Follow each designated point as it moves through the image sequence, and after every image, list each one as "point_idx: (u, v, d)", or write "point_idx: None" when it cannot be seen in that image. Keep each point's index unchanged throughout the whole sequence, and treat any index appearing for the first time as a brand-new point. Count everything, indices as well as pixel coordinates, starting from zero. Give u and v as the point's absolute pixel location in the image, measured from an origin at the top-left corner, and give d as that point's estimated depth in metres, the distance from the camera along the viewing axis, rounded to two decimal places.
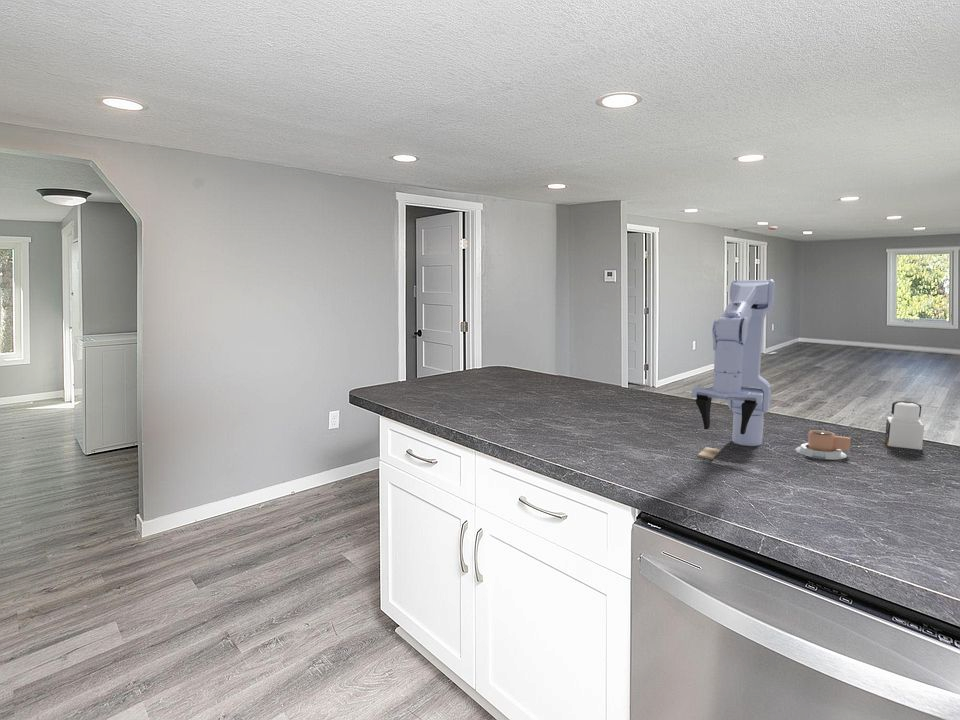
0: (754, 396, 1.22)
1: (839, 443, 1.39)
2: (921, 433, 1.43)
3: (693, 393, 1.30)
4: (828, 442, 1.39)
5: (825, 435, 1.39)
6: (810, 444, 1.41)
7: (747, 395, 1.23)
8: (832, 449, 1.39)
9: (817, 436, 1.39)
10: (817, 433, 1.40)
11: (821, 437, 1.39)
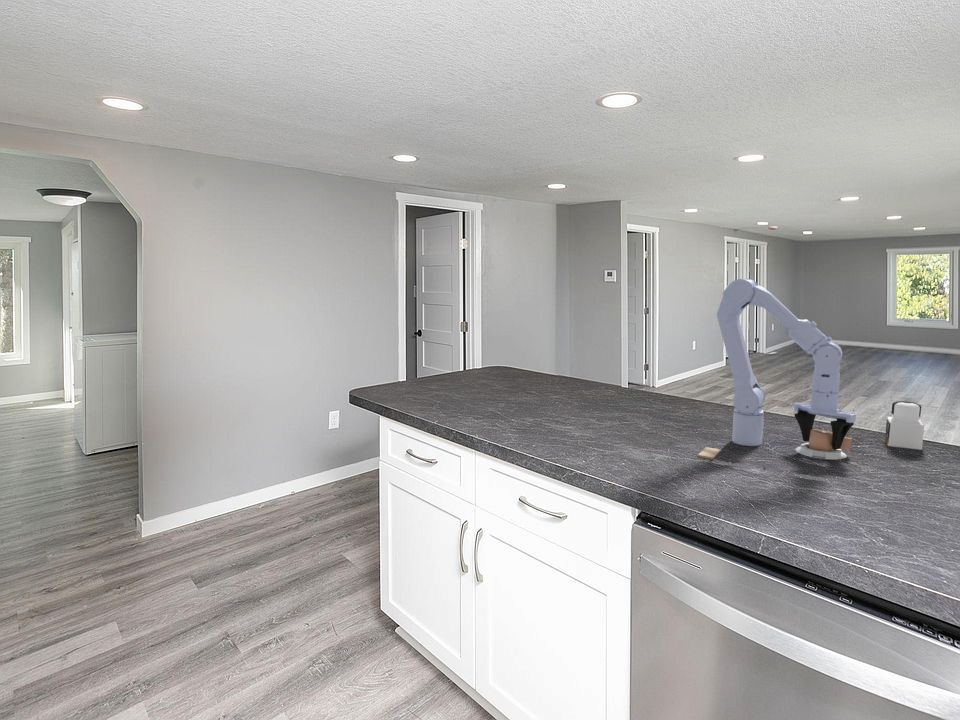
0: (844, 415, 1.34)
1: None
2: (921, 433, 1.43)
3: (795, 408, 1.46)
4: (829, 441, 1.39)
5: (827, 434, 1.39)
6: (811, 442, 1.41)
7: (837, 414, 1.35)
8: None
9: (819, 434, 1.39)
10: (819, 432, 1.40)
11: (823, 435, 1.39)
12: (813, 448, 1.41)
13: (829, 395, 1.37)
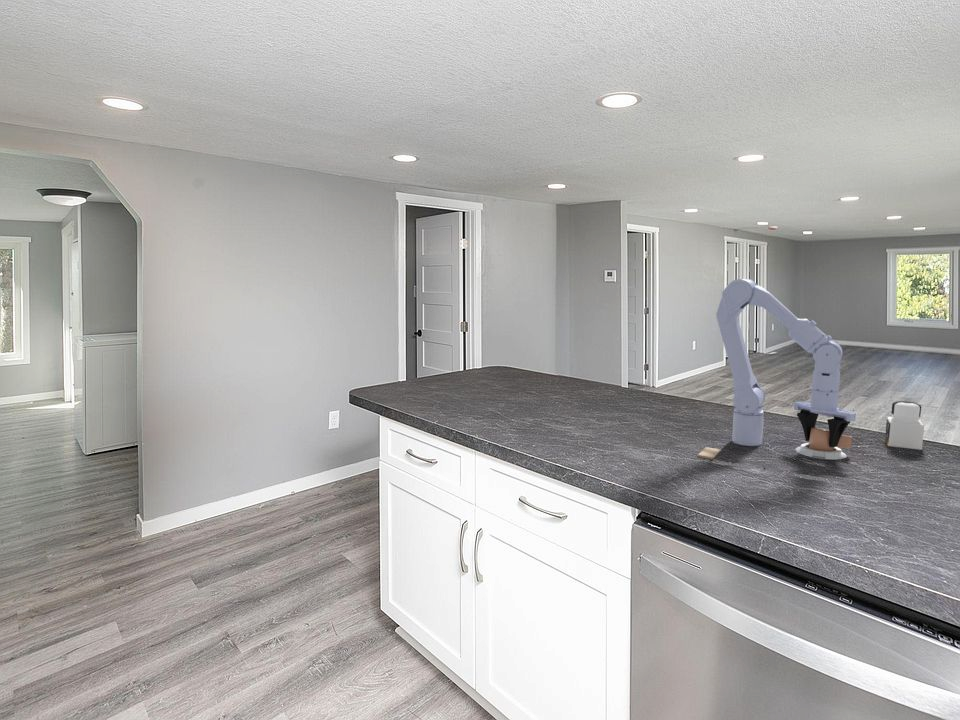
0: (844, 414, 1.34)
1: (840, 441, 1.39)
2: (921, 433, 1.43)
3: (795, 407, 1.46)
4: None
5: (827, 431, 1.39)
6: (811, 440, 1.41)
7: (837, 413, 1.35)
8: None
9: (820, 432, 1.39)
10: (819, 429, 1.41)
11: (823, 433, 1.39)
12: (814, 446, 1.40)
13: (829, 394, 1.37)
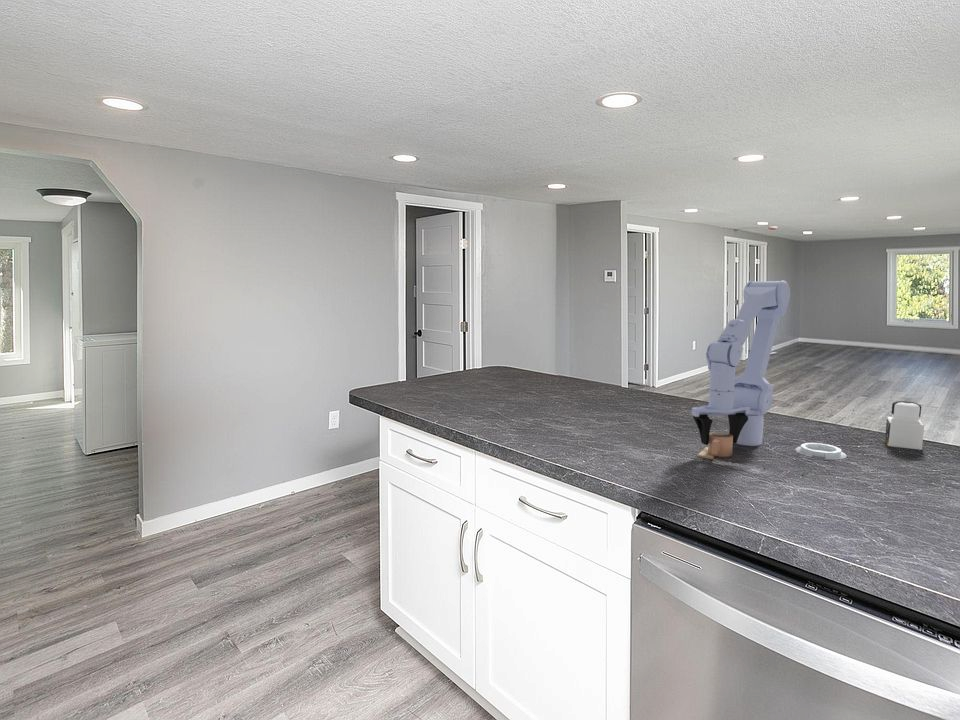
0: None
1: None
2: (921, 433, 1.43)
3: None
4: (709, 441, 1.41)
5: (711, 434, 1.42)
6: None
7: None
8: None
9: None
10: (716, 433, 1.43)
11: None
12: None
13: None
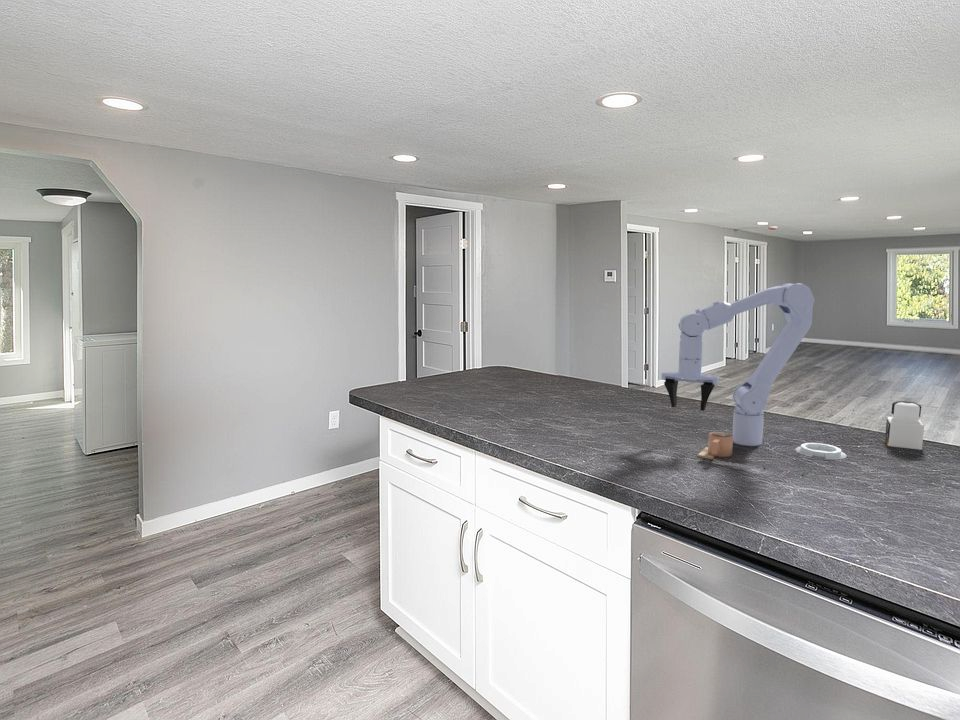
0: None
1: None
2: (921, 433, 1.43)
3: None
4: (709, 441, 1.41)
5: (711, 434, 1.42)
6: None
7: None
8: None
9: None
10: (716, 433, 1.43)
11: None
12: None
13: None
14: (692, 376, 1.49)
